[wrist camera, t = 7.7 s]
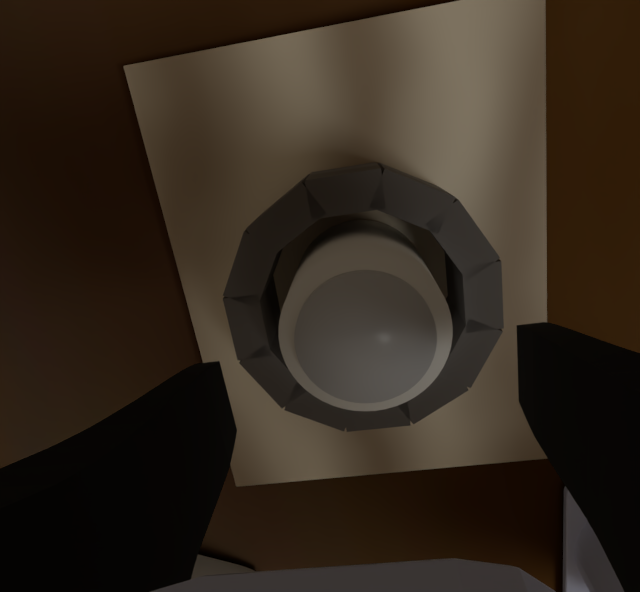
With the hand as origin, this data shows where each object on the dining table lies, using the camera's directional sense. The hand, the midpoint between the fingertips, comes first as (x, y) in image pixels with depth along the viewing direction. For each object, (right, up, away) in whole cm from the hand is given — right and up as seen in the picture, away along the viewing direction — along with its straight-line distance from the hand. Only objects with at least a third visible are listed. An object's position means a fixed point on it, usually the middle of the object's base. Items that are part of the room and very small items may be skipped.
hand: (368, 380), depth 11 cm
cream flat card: (0, +3, +8) cm, 8 cm away
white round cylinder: (0, +2, +7) cm, 7 cm away
